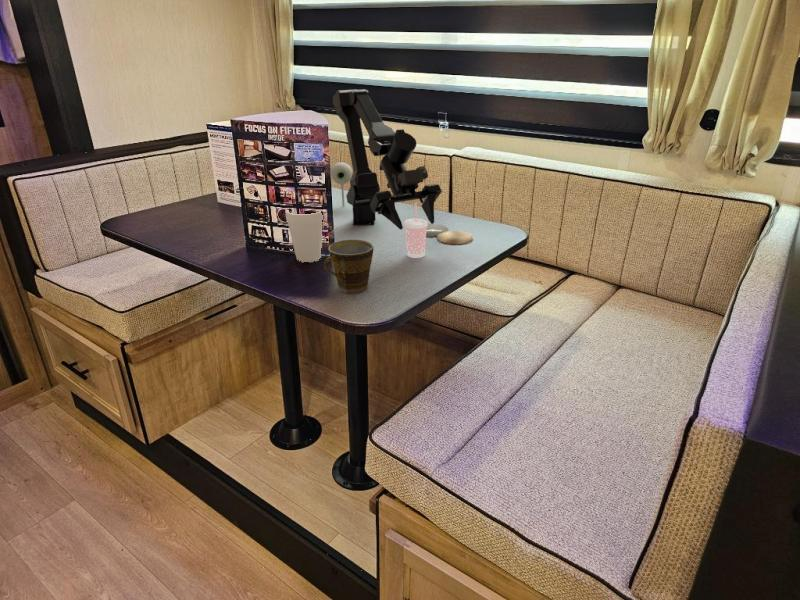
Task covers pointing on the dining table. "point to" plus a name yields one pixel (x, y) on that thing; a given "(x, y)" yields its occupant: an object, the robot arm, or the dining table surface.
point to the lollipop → (341, 175)
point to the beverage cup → (415, 236)
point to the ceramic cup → (351, 264)
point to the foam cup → (306, 235)
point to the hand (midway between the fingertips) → (417, 225)
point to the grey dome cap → (435, 230)
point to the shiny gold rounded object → (455, 237)
